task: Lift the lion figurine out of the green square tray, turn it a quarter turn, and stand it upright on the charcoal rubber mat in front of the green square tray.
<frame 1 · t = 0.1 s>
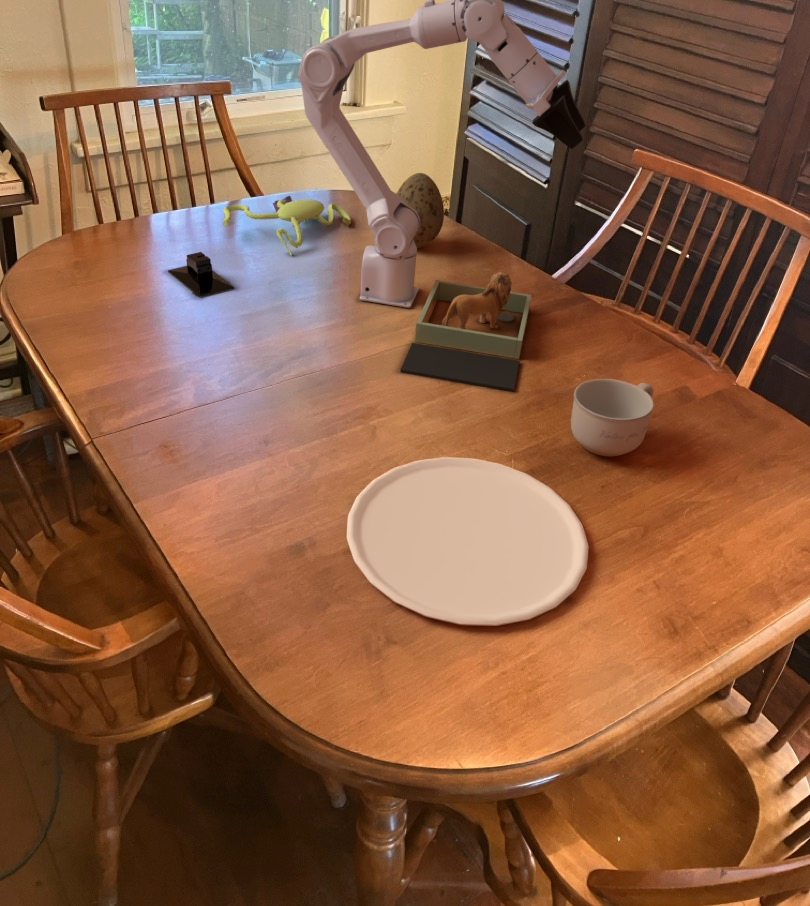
hand: (578, 137, 124), 32 cm above the table, tool tilted 50°, fingers open, 7 cm apart
lion figurine: (473, 327, 140), resting in green square tray
teacup: (610, 441, 115), on the table
plate: (466, 538, 97), on the table
figurine: (287, 231, 168), on the table
mat: (460, 367, 129), on the table
decorative egg: (414, 247, 166), on the table
green square tray: (474, 326, 140), on the table
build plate: (200, 281, 147), on the table
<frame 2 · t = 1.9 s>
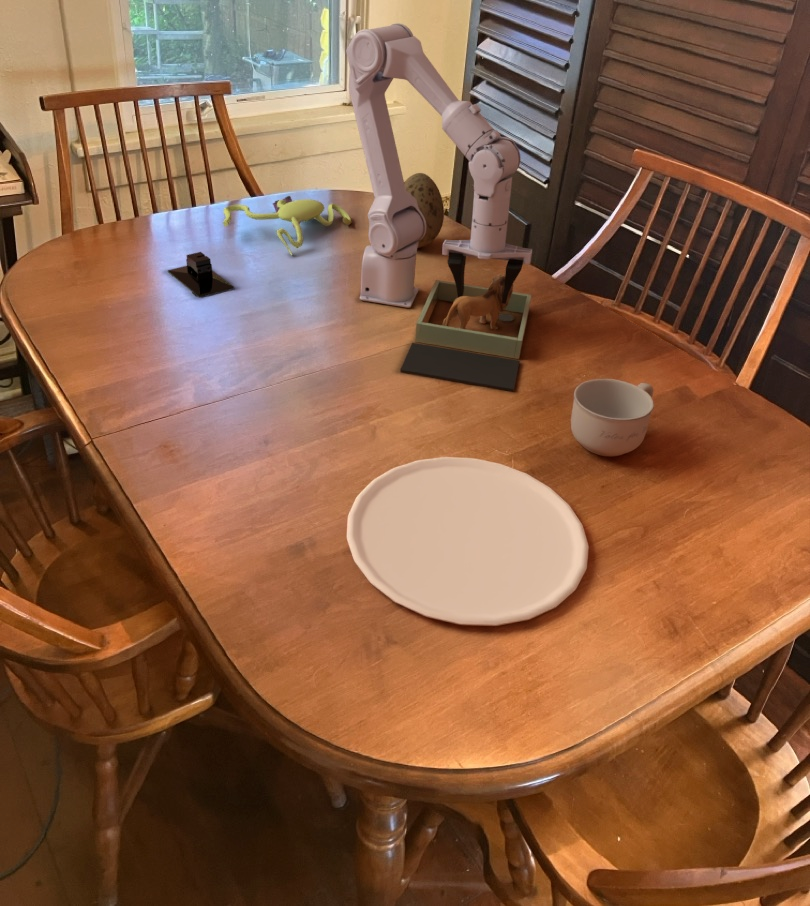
hand: (482, 298, 136), 6 cm above the table, tool pointing down
lion figurine: (473, 328, 140), resting in green square tray, touching gripper
everything else where it was.
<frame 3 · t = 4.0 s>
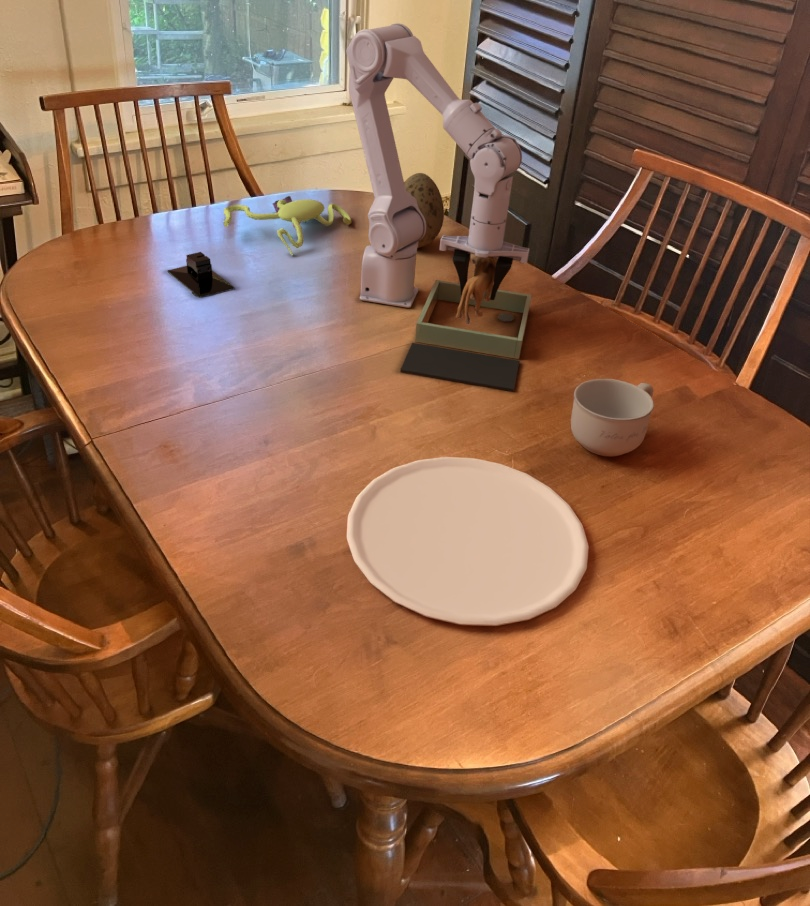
hand: (477, 295, 136), 6 cm above the table, tool pointing down, fingers closed on lion figurine, 4 cm apart
lion figurine: (472, 306, 138), point 4 cm above the table, touching gripper
everything else where it was.
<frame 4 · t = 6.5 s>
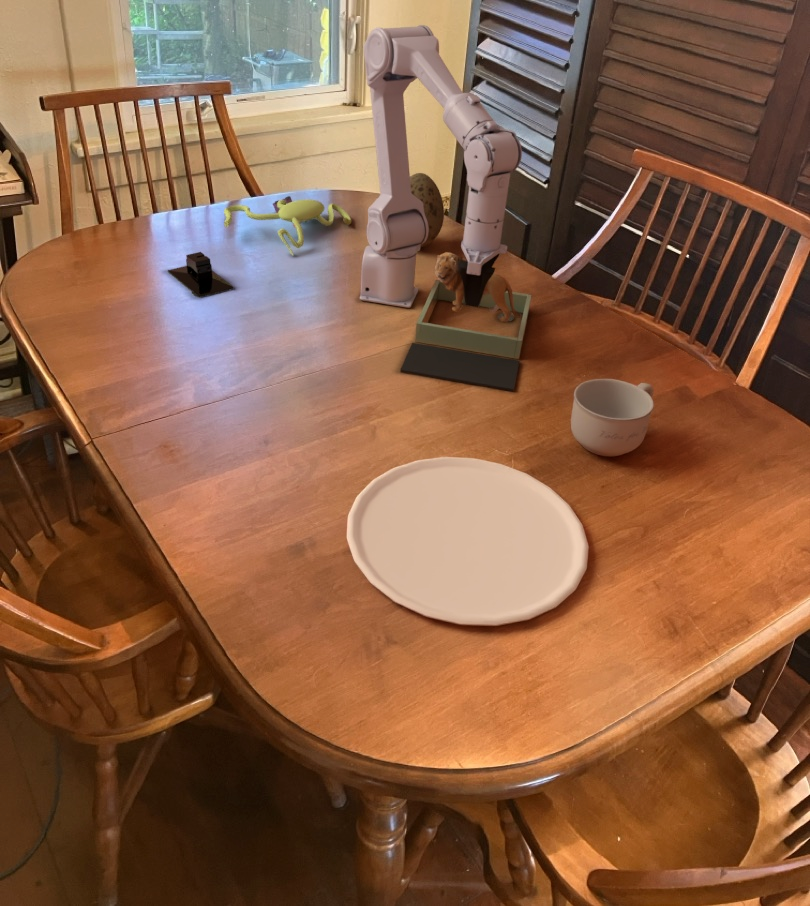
hand: (474, 298, 129), 9 cm above the table, tool pointing down, fingers closed on lion figurine, 4 cm apart
lion figurine: (471, 313, 129), point 7 cm above the table, touching gripper
everything else where it was.
when the fingers open (3 cm above the table, at t = 9.3 s): lion figurine stays where it is, resting on mat.
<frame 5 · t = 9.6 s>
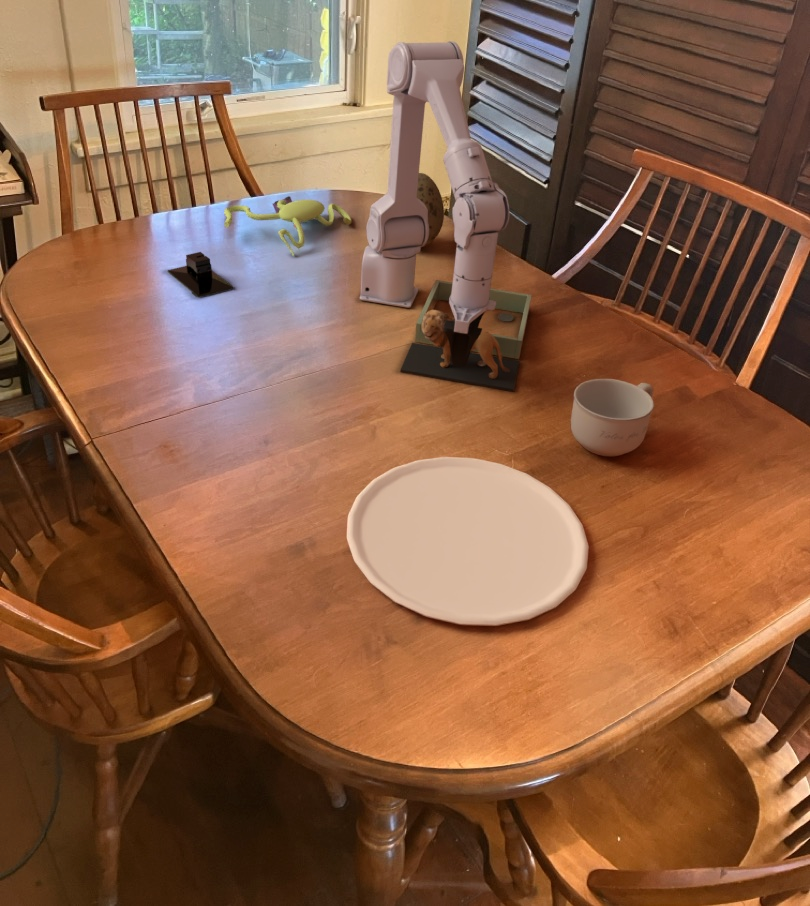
hand: (462, 352, 127), 3 cm above the table, tool pointing down, fingers open, 7 cm apart
lion figurine: (460, 368, 128), resting on mat
everything else where it was.
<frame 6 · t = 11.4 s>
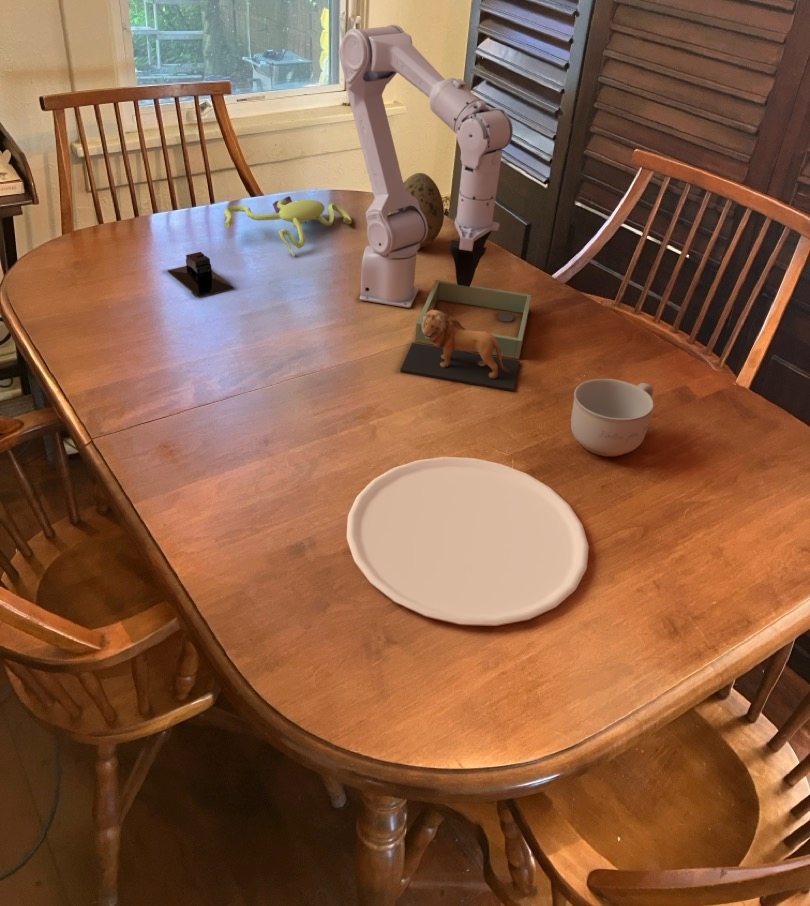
hand: (467, 275, 132), 10 cm above the table, tool pointing down, fingers open, 7 cm apart
nothing on the table moved.
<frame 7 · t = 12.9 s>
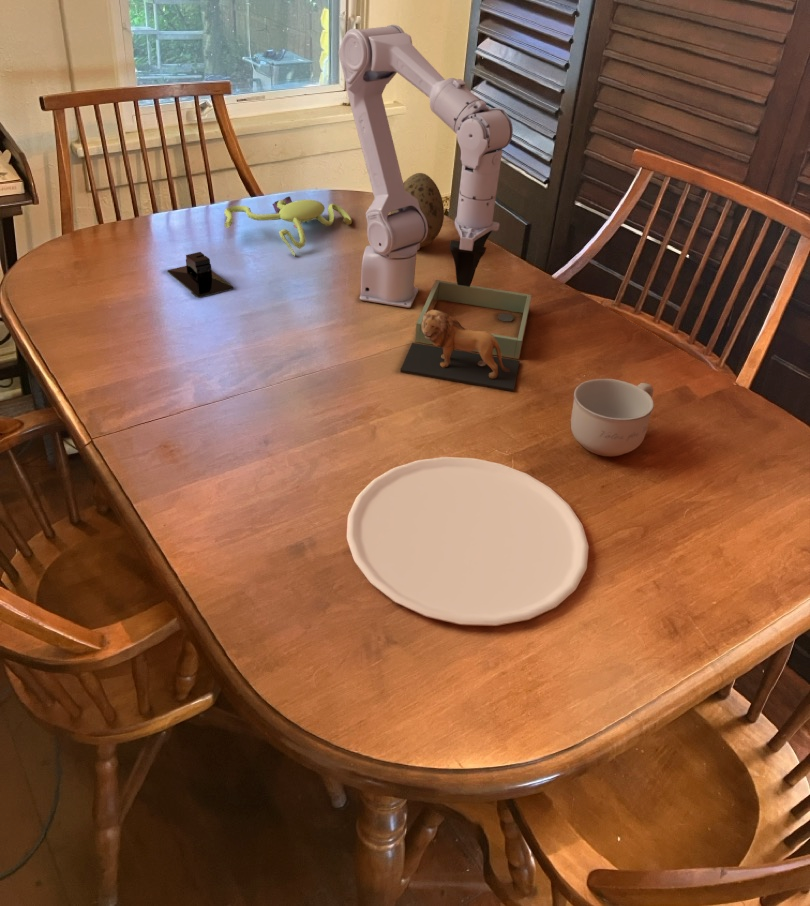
hand: (467, 275, 132), 10 cm above the table, tool pointing down, fingers open, 7 cm apart
nothing on the table moved.
at the end: lion figurine inside the target area (0.7 cm from its centre), resting on mat; lion figurine tilted 0°; the gripper is holding nothing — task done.
